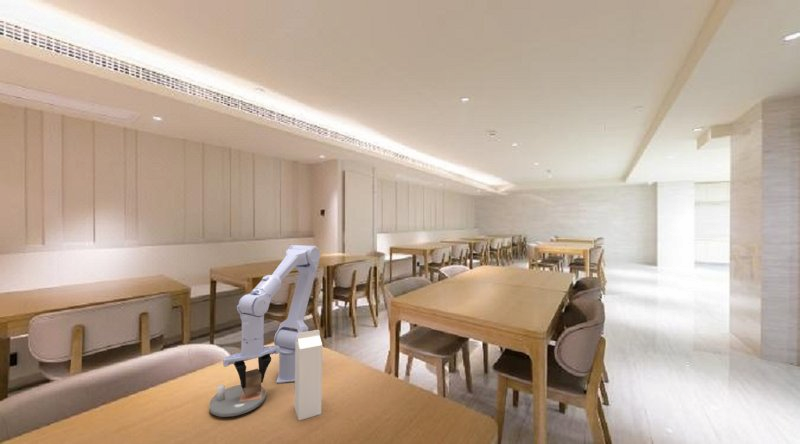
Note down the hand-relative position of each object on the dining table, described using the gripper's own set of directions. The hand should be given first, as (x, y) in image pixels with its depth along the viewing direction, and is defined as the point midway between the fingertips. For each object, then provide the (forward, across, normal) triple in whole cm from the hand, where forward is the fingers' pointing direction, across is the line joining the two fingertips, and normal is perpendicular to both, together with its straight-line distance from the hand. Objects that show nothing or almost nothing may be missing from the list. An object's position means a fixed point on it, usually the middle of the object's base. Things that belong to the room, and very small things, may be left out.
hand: (252, 384), depth 89 cm
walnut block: (+2, 0, 0) cm, 2 cm away
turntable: (+5, +3, -1) cm, 6 cm away
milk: (+6, -11, +14) cm, 18 cm away
